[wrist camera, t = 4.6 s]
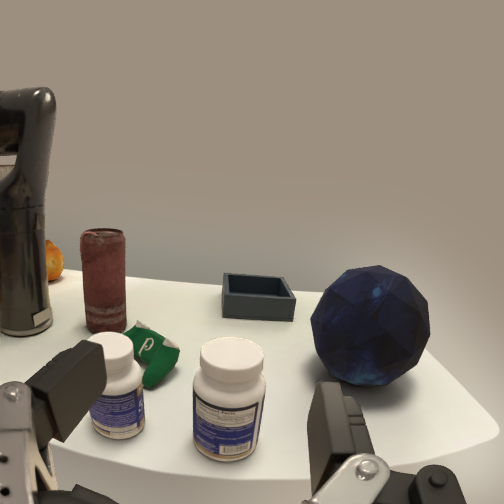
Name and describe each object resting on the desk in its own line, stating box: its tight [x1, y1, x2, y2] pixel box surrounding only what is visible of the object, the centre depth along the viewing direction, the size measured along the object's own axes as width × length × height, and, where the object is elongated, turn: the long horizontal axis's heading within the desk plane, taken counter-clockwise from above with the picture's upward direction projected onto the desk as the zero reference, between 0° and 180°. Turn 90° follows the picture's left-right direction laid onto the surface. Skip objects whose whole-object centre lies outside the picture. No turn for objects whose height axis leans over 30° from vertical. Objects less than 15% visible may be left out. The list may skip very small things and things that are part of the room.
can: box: [80, 228, 127, 334], centre depth 41 cm, size 6×6×14 cm
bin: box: [222, 273, 296, 321], centre depth 57 cm, size 12×12×4 cm
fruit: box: [45, 240, 64, 281], centre depth 54 cm, size 8×8×8 cm
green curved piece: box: [123, 320, 180, 388], centre depth 35 cm, size 9×4×6 cm
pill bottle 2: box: [193, 337, 266, 461], centre depth 24 cm, size 6×6×10 cm
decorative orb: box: [310, 265, 430, 387], centre depth 36 cm, size 14×15×15 cm
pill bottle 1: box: [88, 332, 145, 439], centre depth 24 cm, size 5×5×9 cm
